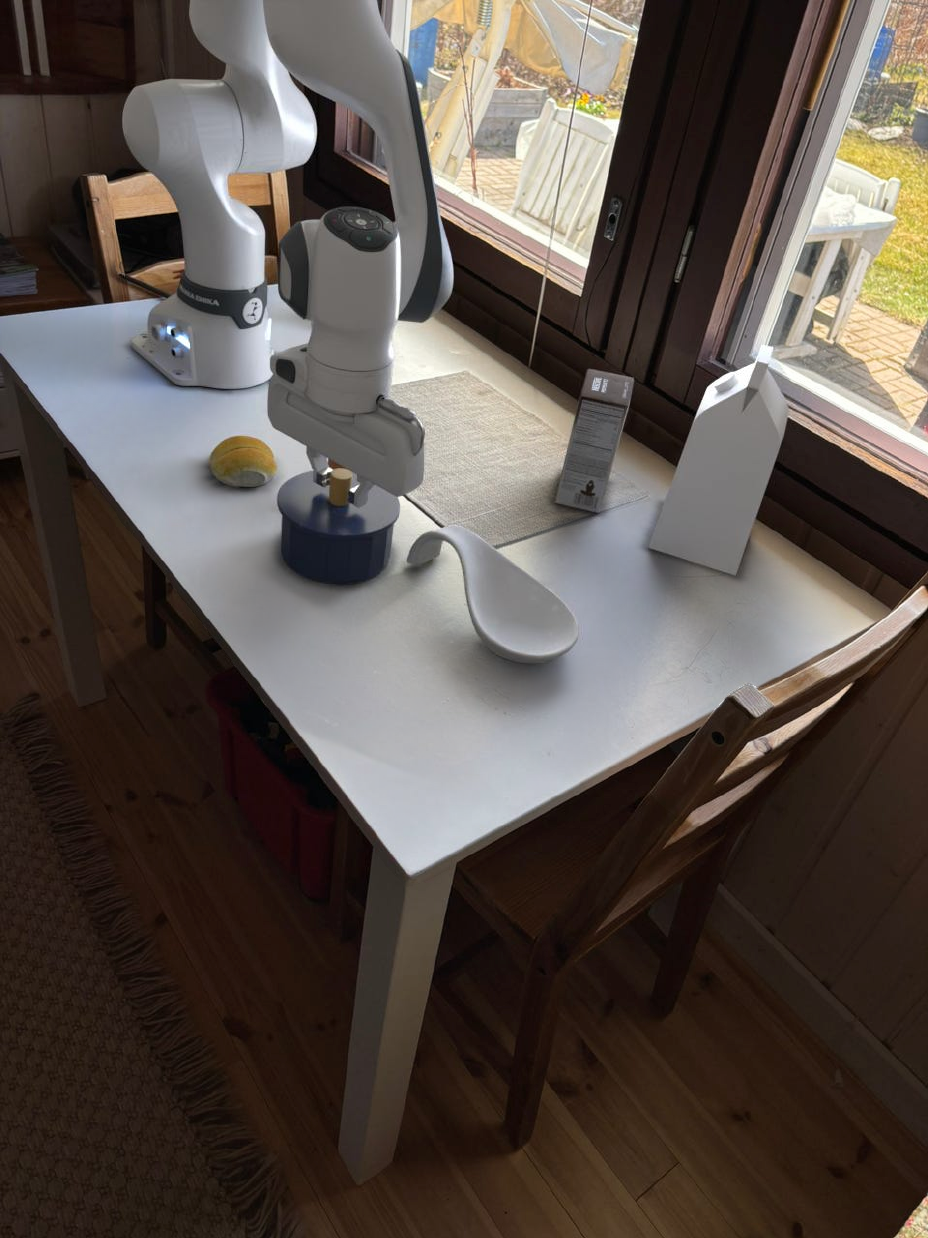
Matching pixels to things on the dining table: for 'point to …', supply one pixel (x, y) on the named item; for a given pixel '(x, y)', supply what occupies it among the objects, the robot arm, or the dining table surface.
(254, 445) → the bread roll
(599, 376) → the coffee box
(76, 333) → the dining table surface
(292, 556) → the tin
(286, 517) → the tin lid
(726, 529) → the milk
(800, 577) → the dining table surface
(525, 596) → the spoon rest
